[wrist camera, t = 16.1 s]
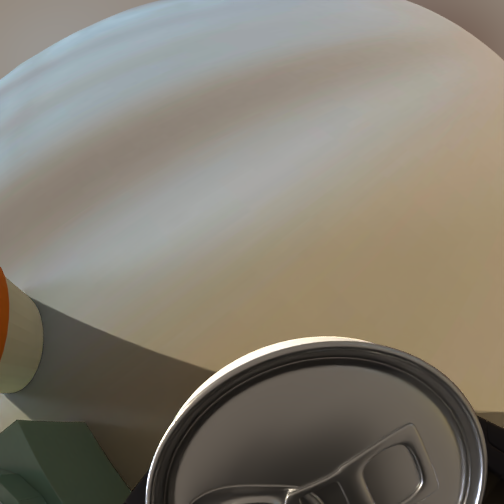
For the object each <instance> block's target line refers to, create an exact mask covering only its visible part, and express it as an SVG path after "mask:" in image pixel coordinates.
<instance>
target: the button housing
mask: <svg viewBox="0 0 504 504" xmlns="http://www.w3.org/2000/svg"><path fill="white" fill-rule="evenodd" d="M130 494H131V491H130V489H129V488H128V487H127V485H126V484H125V483H124V481H123V480H122V478H121V477H120V476H119V474H118V473H117V471H116V470H115V469H114V467H113V466H112V464H111V463H110V461H109V460H108V458H107V457H106V455H105V454H104V452H103V451H102V449H101V447H100V446H99V444H98V443H97V441H96V439H95V438H94V436H93V435H92V433H91V431H90V430H89V428H88V426H87V424H86V423H85V422H47V421H27V420H16V421H15V422H14V423H12V424H11V425H10V426H9V427H7V428H6V429H5V430H4V431H2V432H1V433H0V502H1V503H2V504H123V503H124V502H125V500H126V499H127V498H128V496H129V495H130Z"/></svg>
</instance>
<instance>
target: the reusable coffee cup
mask: <svg viewBox="0 0 504 504" xmlns="http://www.w3.org/2000/svg"><path fill="white" fill-rule="evenodd" d="M42 350H43V326H42V320H41V316H40V314H39V311H38V308H37V307H36V305H35V303H34V302H33V301H32V300H31V299H30V297H28V296H27V295H26V294H25V293H24V292H22V291H21V290H20V289H19V288H18V287H16V286H15V285H14V284H13V283H12V282H11V281H9V280H8V279H7V278H6V277H5V276H4V273H3V271H2V269H1V267H0V393H14V392H17V391H19V390H21V389H23V388H24V387H25V386H27V385H28V383H29V382H30V381H31V379H32V378H33V376H34V374H35V373H36V371H37V368H38V365H39V363H40V359H41V354H42Z"/></svg>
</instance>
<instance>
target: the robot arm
mask: <svg viewBox="0 0 504 504" xmlns="http://www.w3.org/2000/svg"><path fill="white" fill-rule="evenodd" d="M477 418H478V420H479V422H480V425H481V428H482V431H483V434H484V438H485V443H486V449H487V458H488V474H487V484H486V490H485V495H484V499H483V502H482V504H504V428H502V427H500V426H498V425H495V424H493V423H491V422H489V421H486V420H485V419H483V418H481V417H479V416H477ZM148 474H149V470H148V471H147V473H146V474H145V475H144V477H143V478H142V479H141V481H140V482H139V483H138V485H137V486H136V487H135V488H134V490H133V491H132V492H131V494H130V495H129V496H128V498H127V499H126V500H125V502H124V503H123V504H146V485H147V479H148Z"/></svg>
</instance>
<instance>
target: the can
mask: <svg viewBox="0 0 504 504" xmlns="http://www.w3.org/2000/svg"><path fill="white" fill-rule="evenodd" d="M487 474H488V458H487V449H486V443H485V438H484V434H483V431H482V428H481V425H480V422H479V420H478V418H477V415H476V413H475V411H474V410H473V408H472V406H471V404H470V403H469V401H468V400H467V398H466V397H465V396H464V394H463V393H462V392H461V391H460V389H459V388H458V387H457V386H456V385H455V384H454V383H453V382H452V381H451V380H450V379H449V378H448V377H447V376H445V375H444V374H443V373H442V372H440V371H439V370H438V369H436V368H435V367H433V366H432V365H430V364H429V363H427V362H425V361H423V360H421V359H420V358H418V357H415V356H413V355H411V354H409V353H406V352H404V351H401V350H398V349H395V348H391V347H387V346H383V345H379V344H375V343H372V342H368V341H364V340H359V339H353V338H346V337H332V336H321V337H307V338H299V339H293V340H288V341H284V342H280V343H276V344H273V345H269V346H266V347H264V348H261V349H258V350H256V351H253V352H251V353H249V354H247V355H245V356H243V357H241V358H239V359H237V360H235V361H233V362H232V363H230V364H228V365H227V366H225V367H224V368H222V369H221V370H219V371H218V372H217V373H215V374H214V375H213V376H211V377H210V378H209V379H208V380H207V381H205V382H204V383H203V384H202V385H201V386H200V387H199V388H198V389H197V390H196V391H195V392H194V393H193V394H192V395H191V396H190V398H189V399H188V400H187V401H186V402H185V404H184V405H183V406H182V408H181V409H180V411H179V412H178V414H177V415H176V417H175V418H174V420H173V422H172V423H171V425H170V426H169V428H168V429H167V431H166V432H165V434H164V436H163V438H162V439H161V441H160V443H159V445H158V447H157V450H156V452H155V454H154V457H153V460H152V463H151V466H150V469H149V474H148V479H147V485H146V504H482V502H483V499H484V495H485V490H486V484H487Z"/></svg>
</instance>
